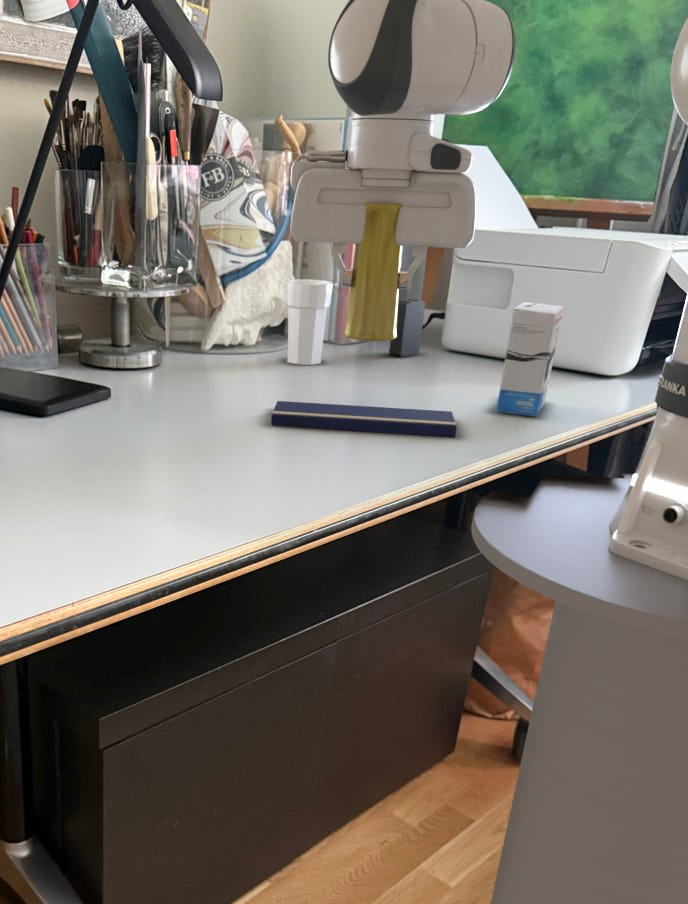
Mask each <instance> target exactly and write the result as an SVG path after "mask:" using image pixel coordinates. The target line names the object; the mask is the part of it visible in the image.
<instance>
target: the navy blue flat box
mask: <svg viewBox="0 0 688 904" xmlns="http://www.w3.org/2000/svg"><path fill="white" fill-rule="evenodd" d="M270 425H271V426H273V427H275V426H276V427H291V428H304V429H305V428H306V429H321V430H337V431H338V430H339V431H350V432H351V431H352V432H353V431H354V432H367V433H368V432H369V433H383V434H400V435H415V436H430V437H431V436H432V437H446V438H456V436H457V428H458V424H457V422H456V419H455V417H454V414H453V412H452V411H451V410H449V411H448V410H433V409H432V410H431V409H418V408H401V407H382V406H367V405H351V404H350V405H349V404H337V403H336V404H335V403H318V402H303V401H302V402H301V401H288V400H287V401H285V400H277V402H276V403H275V406H274V409H273V410H272V412H271V421H270Z"/></svg>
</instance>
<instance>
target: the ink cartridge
mask: <svg viewBox="0 0 688 904" xmlns="http://www.w3.org/2000/svg"><path fill="white" fill-rule="evenodd" d="M425 310H426V301H424V300H422V299H416V298H408V299H398V313H397V337H396V338H395V339H393V340H389V341H390V342H389V349H388V353H389V355H390V356H395V357H399V358H406V357H409V356H410V357H411V356H415V355H418V354H419V353H420V349H421V341H422V340H421V339H422V333H423V325H424V317H425Z"/></svg>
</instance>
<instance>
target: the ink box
mask: <svg viewBox="0 0 688 904" xmlns="http://www.w3.org/2000/svg"><path fill="white" fill-rule="evenodd" d="M564 308H565V307H564V306H563V305H556V304H546V303H538V302H537V303H536V302H528V301H526V302H525V301H523V302H522V303H520V304H518V305H516V306H514V307H513V311H512V315H511V322H510V328H509V329H510V330H509V334H508V339H507V346H506V351H505V352H506V353H505V358H504V363H503V370H502V375H501V380H500V381H501V382H500V386H499V392H498V397H497V403H496V409H495V412H496V413H504V414H512V415H519V416H529V417H537V416H538V414H539V413H540V411H541V409H542V408H543V407H544V405H545V404H546V400H547V393H548V388H549V384H550V379H551V374H552V369H553V364H554V358H555V353H556V348H557V343H558V337H559V332H560V326H561V323H562V318H563V314H564V313H563V312H564Z"/></svg>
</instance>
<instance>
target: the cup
mask: <svg viewBox="0 0 688 904" xmlns="http://www.w3.org/2000/svg"><path fill="white" fill-rule="evenodd" d="M333 287H334V282H333V281H329V280H324V279H323V280H322V279H311V278H310V279H307V278H305V279H300V278H299V279H288V280H286V281H285V305H286V306H287V309H288V310H287V313H288V314H287V356H286V357H287V359H286V362H287V363H290V364H295V365H302V366H303V365H305V366H308V365H309V366H313V365H318V364H319V365H320V364H321V363H322V353H323V346H324V339H325V331H326V323H327V317H328V316H327V315H328V308H329V307H330V306H331V305H332V304H331V303H332V295H333Z"/></svg>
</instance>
